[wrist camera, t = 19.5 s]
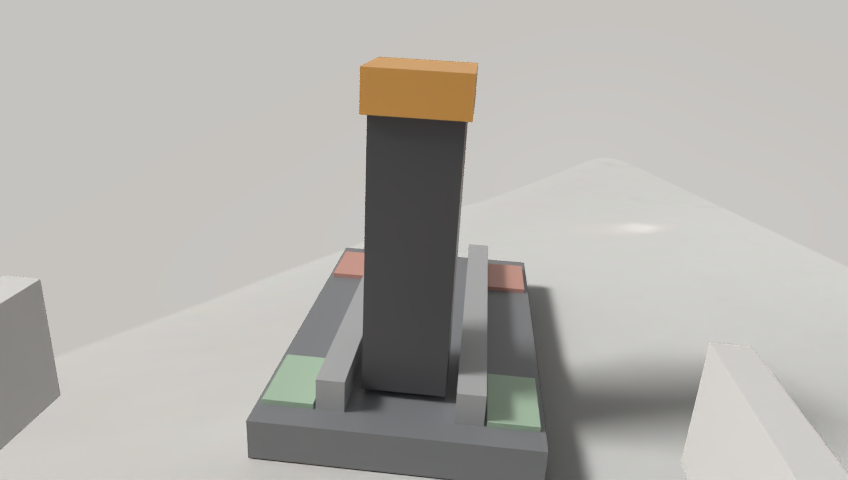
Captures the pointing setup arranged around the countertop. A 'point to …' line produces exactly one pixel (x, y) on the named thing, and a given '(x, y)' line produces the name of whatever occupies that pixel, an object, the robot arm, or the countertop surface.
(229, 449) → the countertop surface
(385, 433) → the grey base
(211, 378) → the countertop surface
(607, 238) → the countertop surface
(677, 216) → the countertop surface
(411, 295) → the breaker handle
